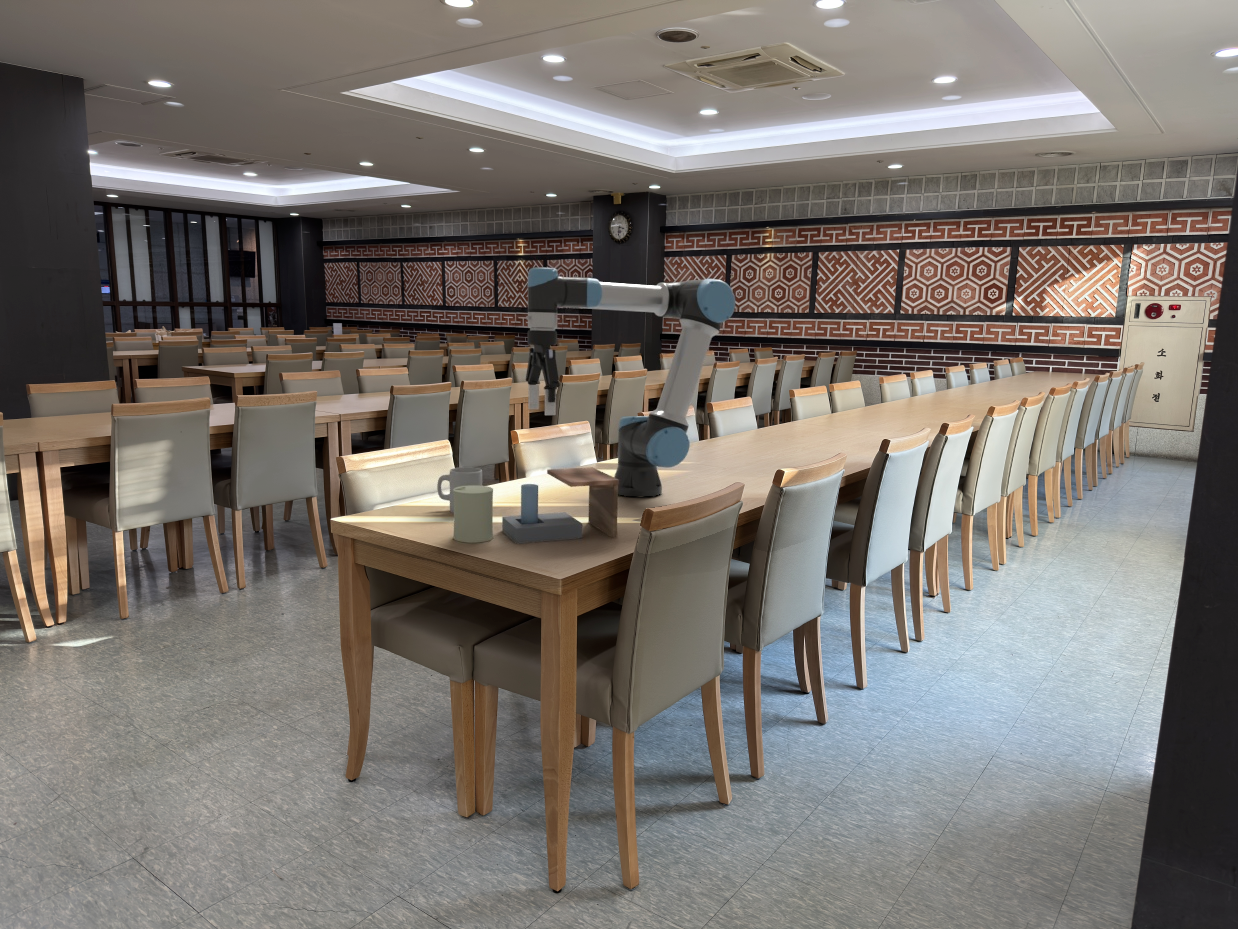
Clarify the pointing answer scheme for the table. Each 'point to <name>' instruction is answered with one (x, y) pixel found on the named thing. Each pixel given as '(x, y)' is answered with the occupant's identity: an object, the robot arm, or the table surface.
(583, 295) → the robot arm
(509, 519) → the socket
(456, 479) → the mug
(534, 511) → the peg
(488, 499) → the can
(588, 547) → the table surface
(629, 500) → the table surface
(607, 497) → the wooden l-bracket
